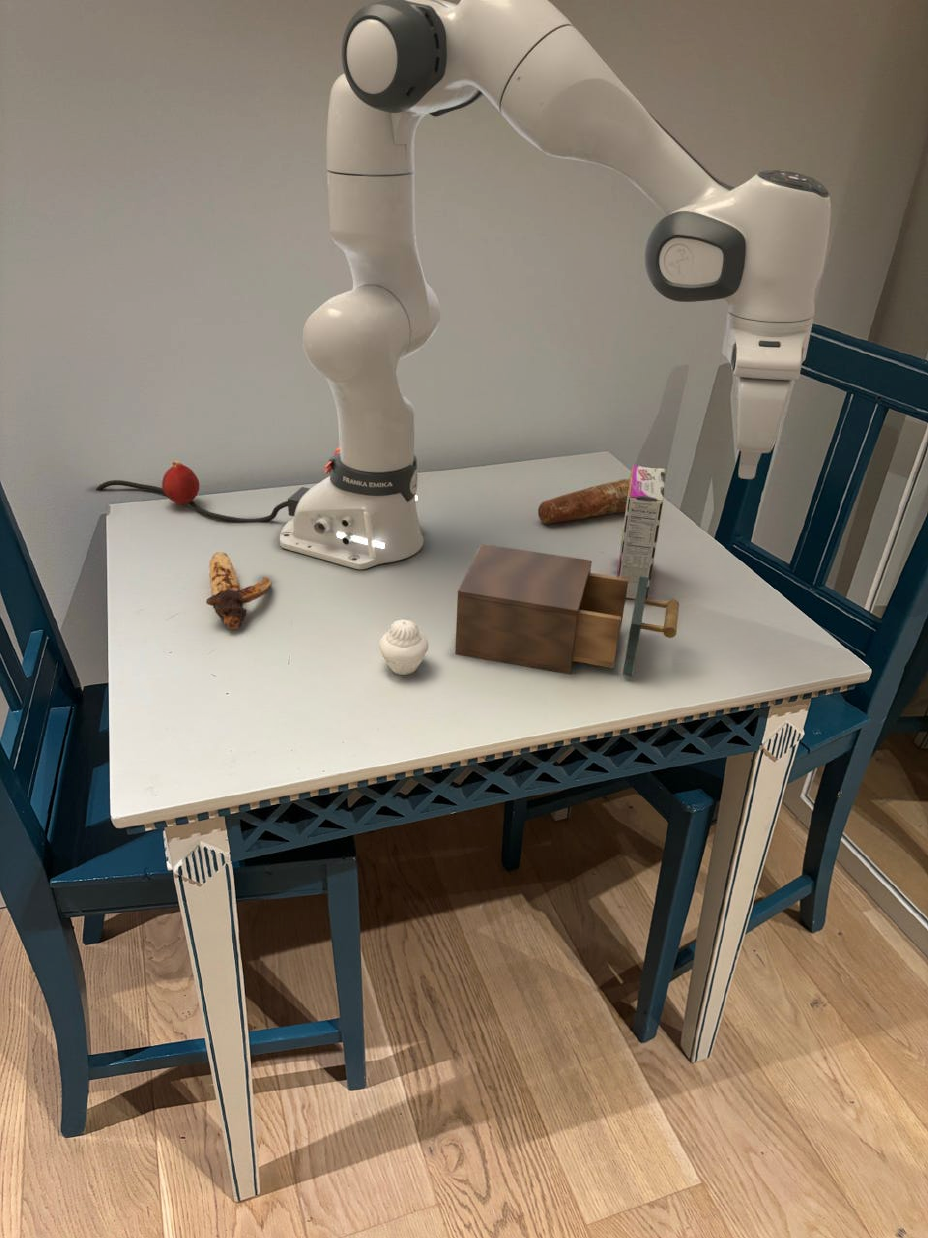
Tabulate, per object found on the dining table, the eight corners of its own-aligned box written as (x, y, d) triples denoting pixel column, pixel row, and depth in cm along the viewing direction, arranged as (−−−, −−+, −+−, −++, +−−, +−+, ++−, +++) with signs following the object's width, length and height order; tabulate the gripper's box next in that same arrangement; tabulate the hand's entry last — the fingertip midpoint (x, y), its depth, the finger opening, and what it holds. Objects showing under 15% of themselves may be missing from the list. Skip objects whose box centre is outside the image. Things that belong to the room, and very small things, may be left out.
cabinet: (583, 620, 124) (591, 560, 119) (569, 674, 113) (578, 610, 108) (478, 603, 127) (481, 543, 122) (455, 653, 116) (457, 590, 111)
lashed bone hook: (282, 630, 120) (264, 563, 134) (280, 600, 117) (263, 536, 131) (210, 638, 117) (200, 569, 131) (207, 608, 114) (197, 541, 129)
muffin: (397, 648, 117) (397, 603, 113) (437, 663, 114) (438, 617, 110) (369, 671, 112) (368, 625, 108) (410, 688, 109) (410, 641, 106)
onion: (186, 495, 153) (180, 451, 148) (209, 504, 150) (203, 460, 146) (158, 506, 149) (151, 461, 144) (181, 516, 146) (174, 470, 142)
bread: (644, 514, 153) (649, 484, 150) (546, 531, 147) (549, 500, 144) (625, 499, 158) (629, 470, 155) (529, 514, 151) (531, 484, 148)
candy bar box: (617, 562, 139) (632, 463, 130) (649, 566, 138) (666, 467, 129) (612, 598, 129) (628, 495, 120) (647, 603, 129) (665, 499, 120)
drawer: (672, 632, 121) (682, 582, 116) (667, 683, 111) (678, 631, 107) (539, 610, 124) (544, 561, 120) (522, 657, 114) (527, 605, 110)
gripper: (734, 314, 105) (717, 427, 113) (736, 365, 88) (716, 493, 96) (790, 317, 104) (769, 430, 111) (803, 369, 87) (777, 498, 95)
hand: (745, 460), depth 103 cm, fingers open, 8 cm apart
